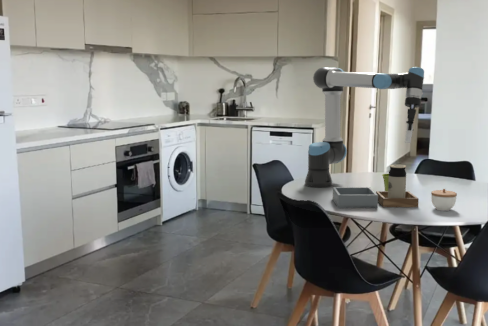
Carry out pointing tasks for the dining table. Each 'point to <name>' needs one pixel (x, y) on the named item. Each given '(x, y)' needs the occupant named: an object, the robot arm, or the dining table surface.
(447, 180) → the dining table surface
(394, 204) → the walnut frame
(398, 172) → the travel mug
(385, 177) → the plant pot
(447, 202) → the lidded jar
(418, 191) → the dining table surface
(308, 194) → the dining table surface
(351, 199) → the slate bin
